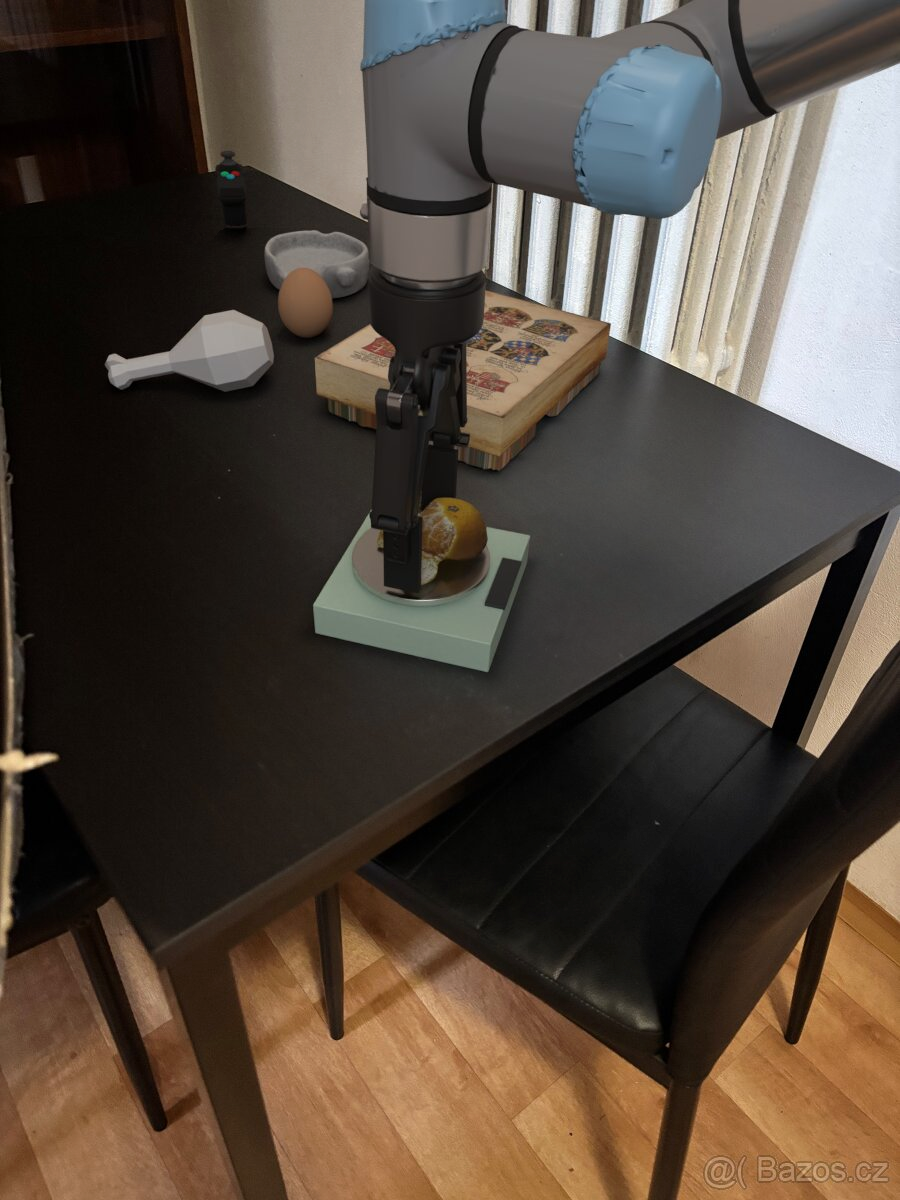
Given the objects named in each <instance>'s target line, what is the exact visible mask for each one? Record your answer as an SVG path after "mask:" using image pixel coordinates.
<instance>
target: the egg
mask: <svg viewBox="0 0 900 1200" xmlns="http://www.w3.org/2000/svg"><path fill="white" fill-rule="evenodd" d="M277 297H278V298H277V307H278V308H277V309H278V313H279V314H278V315H279V317H280V319H281V321H282V323H283V325H284V326H285V327H286V329H288V330H289V331H290V332H291V333H292V334H293V335H294V336H297V337H300V338H303V339H312V338H314V337H317V336H319V335H320V334H322V333H323V332H324V331H325V330H326V329H327V327H328V326H329V324H330V322H331V320H332V317H333V314H334V313H333V311H334V305H333V298H332V297H331V293H330V291H329V289H328V287H327V285H326V283H325V281H324V280H323V279H322V277H321V276H320V275H319V274H318V273H317V272H315V271H313V270H312V269H309V268H298V269H295V270H294V271H292V272H290V273H289V274H288V275H287V277H286V278H285V280H284V282H283V283H282V286H281V289H280V290H279V292H278V296H277Z"/></svg>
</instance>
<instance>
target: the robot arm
mask: <svg viewBox="0 0 900 1200" xmlns="http://www.w3.org/2000/svg"><path fill="white" fill-rule="evenodd" d="M363 5H364V8H363V13H364V14H363V45H362V46H363V48H362V50H363V51H362V60H361V61H360V71H361V74H362V75H361V76H362V77H361V78H362V91H363V93H362V94H363V110H364V112H363V113H364V126H365V127H364V128H365V141H366V142H365V145H366V146H365V147H366V166H367V170H366V171H367V176H366V178H365V181H366V203H365V202H364V203H362V204H361V207H360V209H359V215H360V217H361V218H362V219H363V220H366V221H367V249H368V258H369V263H370V264H371V267H369V272H368V279H367V296H368V297H367V306H368V308H367V309H368V323H369V325H370V324H371V326H372V328H373V329H374V330H375V331H376V332H377V333H378V334H379V335H380V336H382V337H384V338H385V339H387V340H388V341H389V342H390V343H391V344H392V345H393V346H394V347H395V350H396V352H395V354H394V356H392V357H391V360H390V364H389V371H388V380H389V382H390V390H389V389H383V388H379V389H378V390H377V392H376V395H375V408H376V422H377V428H376V429H375V447H374V448H375V449H374V464H373V480H372V481H373V482H372V497H371V509H372V511H371V510H370V511H371V512H370V511H369V513H368V514H369V517H370V519H371V528H373V529H378V530H382V531H383V558H384V586H385V587H390V588H395V589H399V590H404V591H409V592H413V593H419V591H420V588H421V566H422V523H423V517H419V516H418V514H419V510H420V509H421V510H420V513H421V512H423V511H424V510H425V508H426V507H427V506H428V505H429V504H430V503H431V502H432V501H433V500H435V499H437V498H455V499H457V485H458V468H459V467H458V466H459V460H458V450H457V449H454V445H455V446H461V447H466V448H467V447H468V444H469V440H470V434H469V433H463V432H461V430H460V427H463V428H464V427H465V424H466V423H467V420H468V418H467V363H466V342H467V340H469V339H471V338H472V337H474V336H475V335H476V334H477V333H478V332H479V331H480V329H481V328H482V325H483V321H484V306H485V291H486V290H487V275H486V274H485V272H484V271H483V270H484V269H485V268H486V267H487V266H488V263H489V255H490V240H491V239H490V238H491V221H492V220H491V219H492V195H493V194H492V193H493V184H494V185H498V186H505V187H507V188H512V189H516V190H520V191H524V192H528V193H533V194H536V195H540V196H545V197H549V198H553V199H557V200H561V201H566V202H569V203H574V204H576V205H582V206H585V207H589V208H594V209H596V210H597V211H599V212H601V213H606V214H608V215H612V216H622V215H629V216H635V217H642V218H650V219H655V220H656V219H657V220H658V219H659V220H661V219H668V218H671V217H673V216H675V215H677V214H679V213H680V212H682V211H683V210H684V209H685V207H686V206H687V205H688V204H689V203H690V202H691V200H692V198H693V195H694V192H695V191H696V189H698V187H700V186H701V183H702V181H703V179H704V176H705V174H706V172H707V169H708V167H709V164H710V161H711V158H712V156H713V152H714V148H715V145H716V141H717V140H719V139H722V138H724V137H726V136H729V135H731V134H734V133H736V132H738V131H740V130H743V129H746V128H748V127H750V126H753V125H755V124H758V123H760V122H763V121H765V120H767V119H770V118H772V117H773V116H775V115H777V114H780V113H782V112H784V111H786V110H789V109H791V108H794V107H796V106H799V105H801V104H804V103H806V102H808V101H811V100H814V99H817V98H818V97H821V96H822V95H823V96H824V95H826V94H828V93H831V92H833V91H836V90H838V89H841V88H843V87H845V86H848V85H850V84H853V83H855V82H857V81H860V80H863V79H865V78H867V77H870V76H872V75H875V74H877V73H879V72H882V71H885V70H887V69H889V68H892V67H895V66H897V65H900V0H691V1H690V2H688V3H687V2H686V3H685V4H684V5H682V6H680V7H678V8H676V9H674V10H672V11H670V12H668V13H666V14H663V15H661V16H659V17H657V18H654V19H651V20H648V21H644V22H641V23H638V24H634V25H632V26H628V27H626V28H623V29H620V30H617V31H614V32H610V33H607V34H604V35H602V36H599V37H598V36H597V37H595V36H594V37H591V36H590V37H589V36H581V35H580V36H578V35H571V34H564V33H563V34H562V33H555V32H548V31H539V30H533V29H529V28H525V27H519V26H518V25H517V24H516V25H515V24H510V23H507V20H508V19H507V14H508V11H507V10H506V0H364V4H363ZM420 411H422V414H423V416H421V415H418V414H419V412H420ZM429 441H433V445H430V444H429ZM420 504H421V506H420ZM420 507H421V508H420Z"/></svg>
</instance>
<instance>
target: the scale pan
mask: <svg viewBox="0 0 900 1200" xmlns="http://www.w3.org/2000/svg"><path fill="white" fill-rule="evenodd" d="M418 516H419V515H418ZM379 533H380V530H378V529H373V528H370V529H369V530H367V531H366V532H365V533H364V534H363V535H362V536H361V537H360V538H359V540H358V541H357V542H356V544H355V546H354V549H353V553H352V564H353V570H354V572H355V575H356V576H357V578H358V580H359V581H360V582H361V583H362V585H363V586H364V587H366V588H367V589H368V590H369V591H371V592H372V593H374V594H375V595H377V596H379V597H381V598H383V599H386V600H389V601H392V602H395V603H399V604H405V605H412V606H433V605H441V604H446V603H450V602H453V601H456V600H459V599H461V598H464V597H465V596H467V595H469V594H471V593H472V592H474V591H475V590H476V589H477V588H478V587H479V586H481V584H482V583H483V582H484V581H485V579H486V577H487V575H488V573H489V569H490V552H489V549H488V547H487V545H486V547H485V548H484V550H483V551H482V552H481V554H480V555H479V556H478V557H477V558H475V559H474V560H467V561H460V560H455V559H454V560H453V559H449V558H447V559H443V560H442V561H440V562H439V564H438V566H437V567H438V570H437V575H436V577H435V578H434V579H433V580H432V581H430V582H428V583H426V584H424V585H421V588H420V591H419V593H413V592H409V591H404V590H399V589H395V588H390V587H385V586H384V558H383V548H381V547H379V546H378V545H377V540H378V537H379Z"/></svg>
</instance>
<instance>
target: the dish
mask: <svg viewBox="0 0 900 1200" xmlns="http://www.w3.org/2000/svg"><path fill="white" fill-rule="evenodd" d="M264 264H265V270H266V273H267V274H266V275H267V277H268V280H269V282H270V283H271V284H272V286H273V287H275V288H276V289H277V290H279V291H280V289H281V286H282V283H283V282H284V280H285V278H286V277H287V275H288V274H289V273H290V272H292V271H294V270H295V269H298V268H309V269H312V270H313V271H315V272H317V273H318V274H319V275H320V276H321V277H322V279H323V280H324V281H325V283H326V285H327V287H328V289H329V291H330V293H331V297H332V299H338V298H344V297H347V296H351V295H353V294H356V293H357V292H359V291H360V290H362V289H363V288H364V287H365V286H366V284H367V283H368V272H369V270H370V261H369V258H368V246H367V245H366V243H364V242H363V241H361V240H359V239H357V238H356V237H353V236H351V235H348V234H346V233H344V232H340V231H333V232H330V233H323V232H320V231H319V230H314V229H312V230H298V231H291V232H285V233H280V234H277V235H275V236H273V237H270V239H269V240H268V241H267V242H266V244H265V246H264Z"/></svg>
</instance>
